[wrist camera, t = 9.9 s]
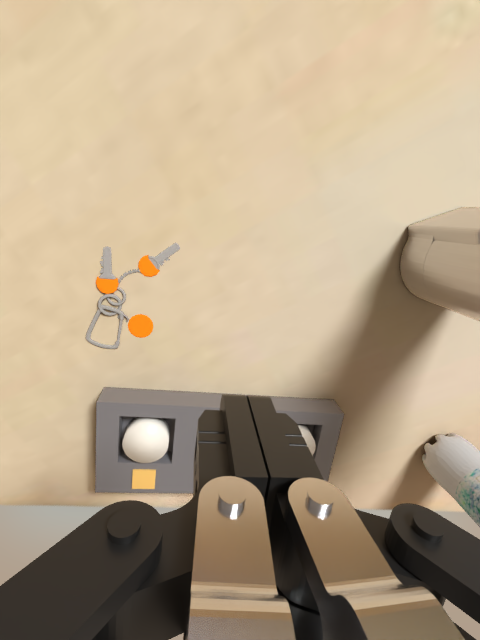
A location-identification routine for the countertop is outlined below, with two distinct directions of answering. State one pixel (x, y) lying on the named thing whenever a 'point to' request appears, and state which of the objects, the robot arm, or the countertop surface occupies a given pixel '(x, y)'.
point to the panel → (187, 436)
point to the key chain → (110, 283)
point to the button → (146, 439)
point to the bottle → (456, 470)
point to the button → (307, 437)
